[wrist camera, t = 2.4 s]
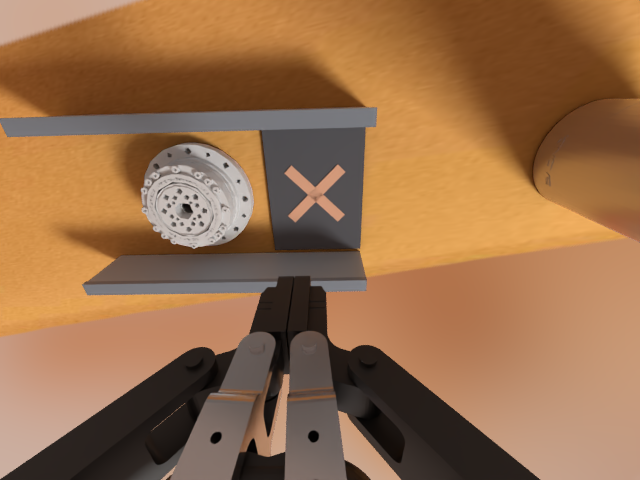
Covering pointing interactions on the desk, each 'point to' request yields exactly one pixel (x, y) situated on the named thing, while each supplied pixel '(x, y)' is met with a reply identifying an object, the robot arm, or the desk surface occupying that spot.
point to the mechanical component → (196, 195)
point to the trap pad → (315, 186)
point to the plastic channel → (211, 268)
